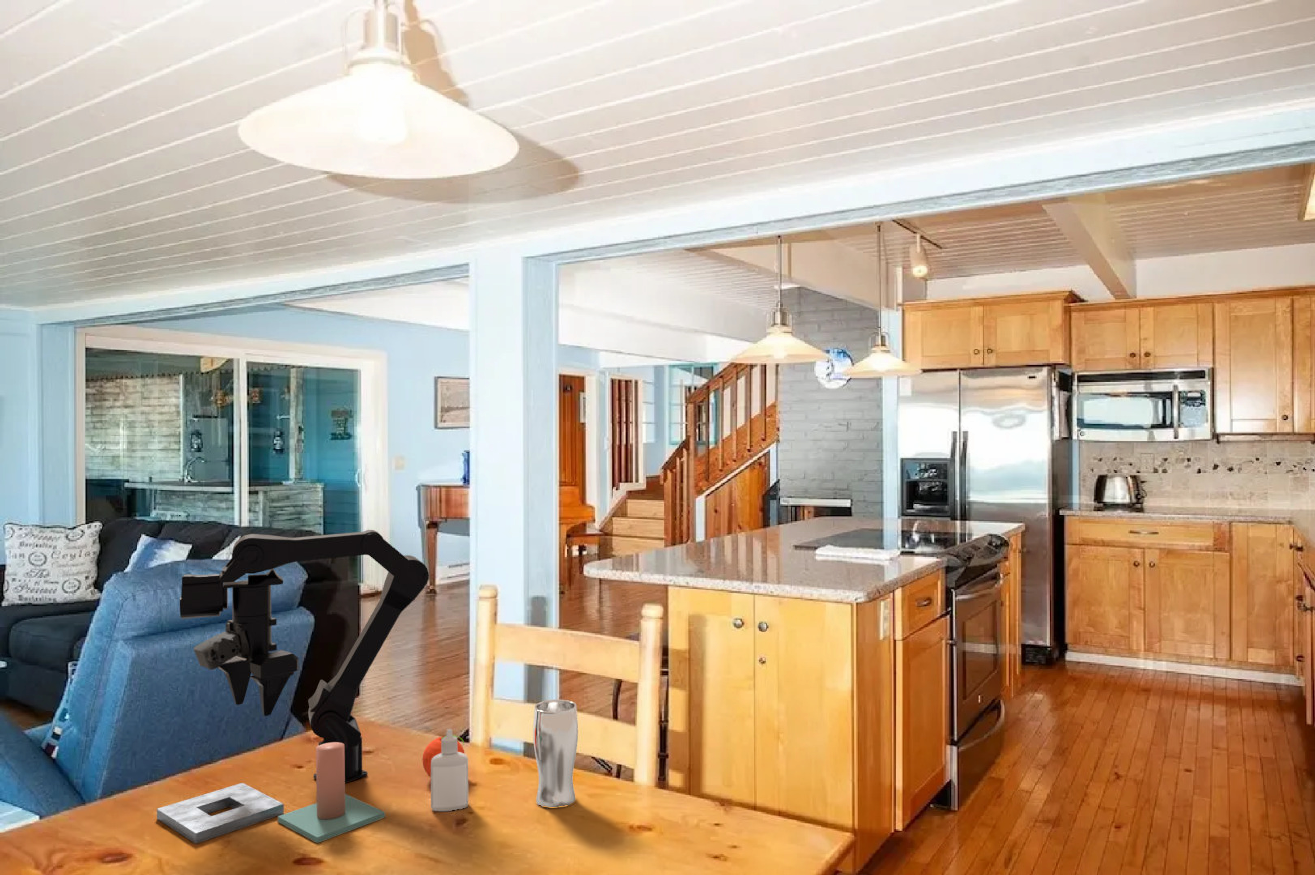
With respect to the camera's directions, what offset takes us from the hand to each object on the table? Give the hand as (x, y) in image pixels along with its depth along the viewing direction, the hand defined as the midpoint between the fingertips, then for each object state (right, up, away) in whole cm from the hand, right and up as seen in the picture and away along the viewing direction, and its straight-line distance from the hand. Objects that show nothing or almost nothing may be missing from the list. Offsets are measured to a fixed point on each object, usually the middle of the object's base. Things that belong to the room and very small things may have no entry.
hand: (252, 709), depth 148 cm
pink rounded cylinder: (+17, -12, -11) cm, 23 cm away
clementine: (+30, -13, +5) cm, 33 cm away
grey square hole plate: (-1, -13, -10) cm, 16 cm away
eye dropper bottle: (+33, -13, -7) cm, 37 cm away
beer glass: (+49, -13, -4) cm, 51 cm away
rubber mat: (+17, -13, -11) cm, 24 cm away
